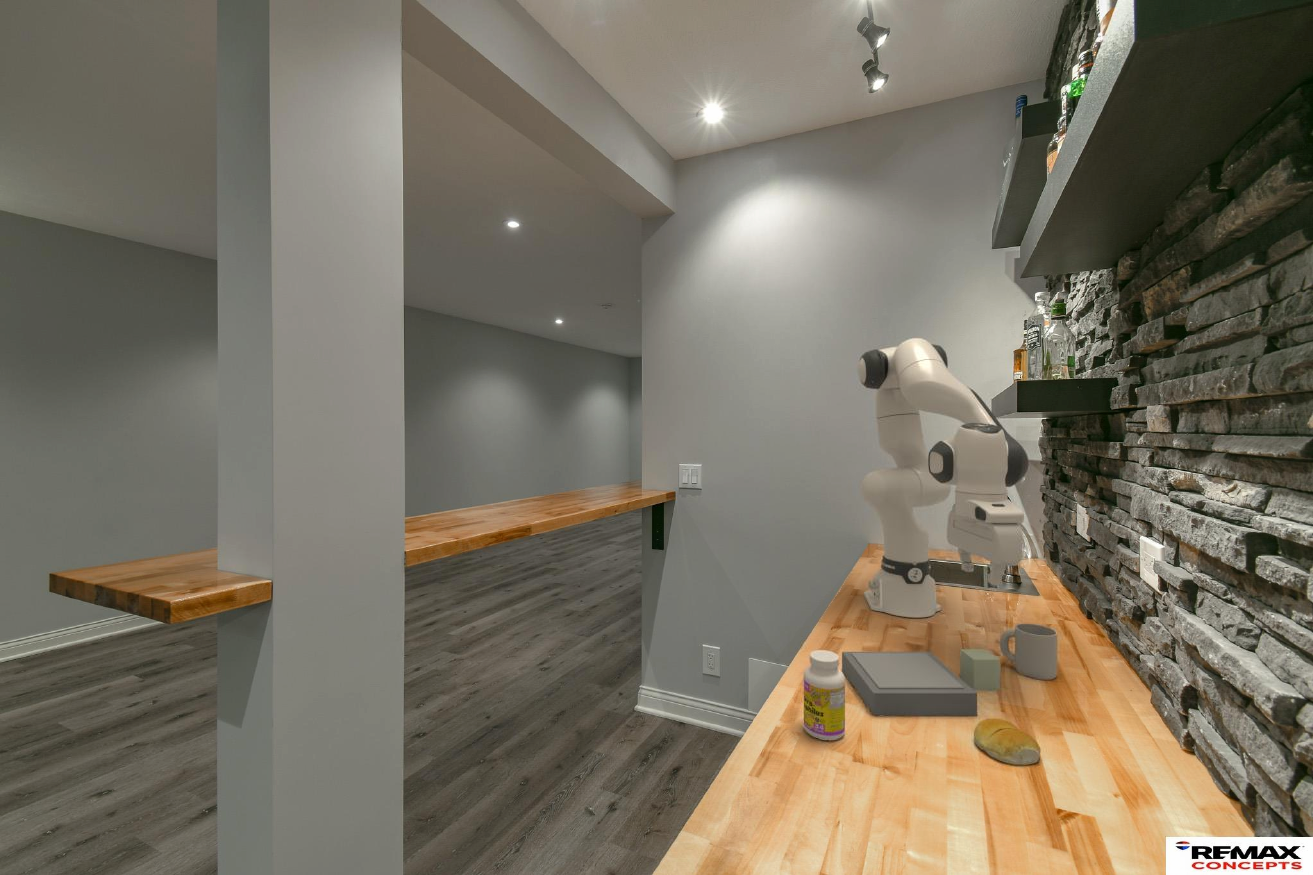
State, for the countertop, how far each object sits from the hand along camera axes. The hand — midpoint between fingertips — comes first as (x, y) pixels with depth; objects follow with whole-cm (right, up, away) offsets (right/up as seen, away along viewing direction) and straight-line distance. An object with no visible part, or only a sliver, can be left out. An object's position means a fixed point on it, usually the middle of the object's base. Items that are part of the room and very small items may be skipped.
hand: (980, 577), depth 110 cm
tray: (-16, -21, -2) cm, 27 cm away
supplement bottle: (-35, -22, -16) cm, 44 cm away
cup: (+13, -21, +6) cm, 26 cm away
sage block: (0, -21, +1) cm, 21 cm away
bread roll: (-8, -22, -21) cm, 32 cm away
